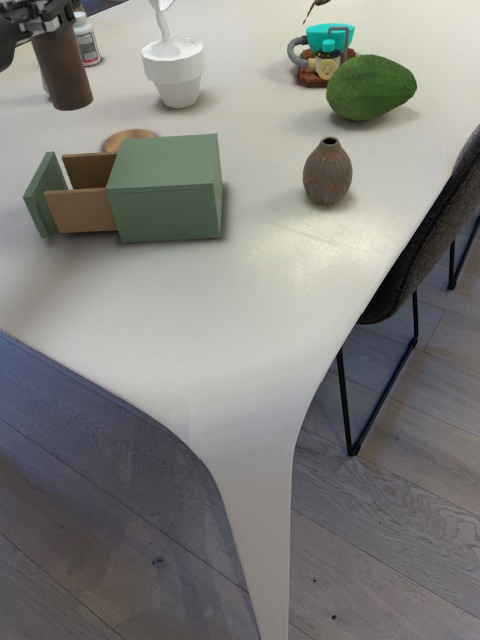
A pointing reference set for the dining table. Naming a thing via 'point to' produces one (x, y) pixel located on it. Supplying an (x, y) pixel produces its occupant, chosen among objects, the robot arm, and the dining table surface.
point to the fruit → (369, 87)
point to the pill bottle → (86, 40)
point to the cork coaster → (116, 139)
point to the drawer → (71, 194)
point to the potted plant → (174, 62)
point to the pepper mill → (62, 69)
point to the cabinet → (167, 188)
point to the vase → (327, 172)
